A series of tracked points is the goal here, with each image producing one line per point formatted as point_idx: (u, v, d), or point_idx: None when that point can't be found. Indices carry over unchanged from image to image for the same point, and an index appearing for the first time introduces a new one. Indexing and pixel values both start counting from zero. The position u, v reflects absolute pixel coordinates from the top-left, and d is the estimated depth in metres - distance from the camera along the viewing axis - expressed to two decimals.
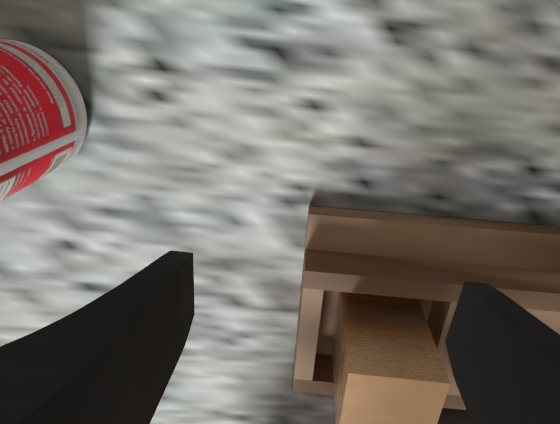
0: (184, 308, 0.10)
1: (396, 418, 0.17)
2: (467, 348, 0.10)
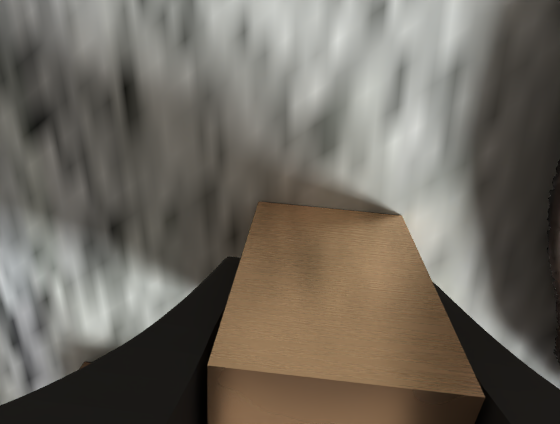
0: None
1: None
2: None
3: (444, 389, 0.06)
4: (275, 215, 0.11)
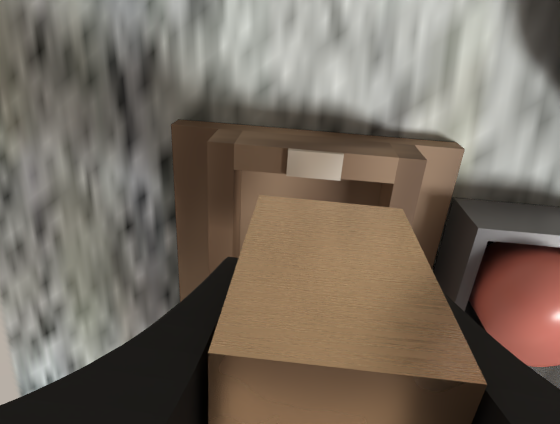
0: None
1: None
2: None
3: (446, 376, 0.06)
4: (275, 208, 0.10)
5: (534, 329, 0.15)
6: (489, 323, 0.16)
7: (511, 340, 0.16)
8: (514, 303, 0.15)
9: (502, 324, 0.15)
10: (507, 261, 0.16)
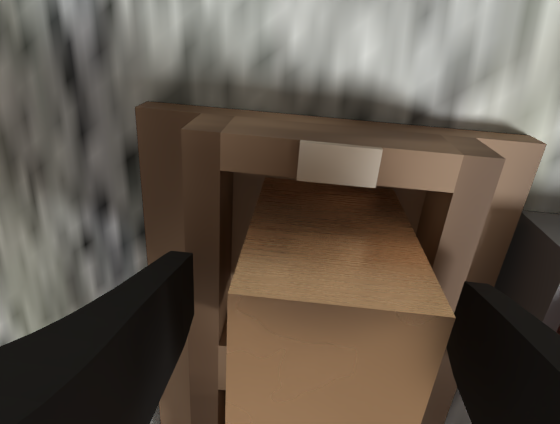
0: (184, 308, 0.10)
1: None
2: (467, 348, 0.10)
3: (422, 312, 0.07)
4: (280, 188, 0.12)
5: None
6: None
7: None
8: None
9: None
10: None
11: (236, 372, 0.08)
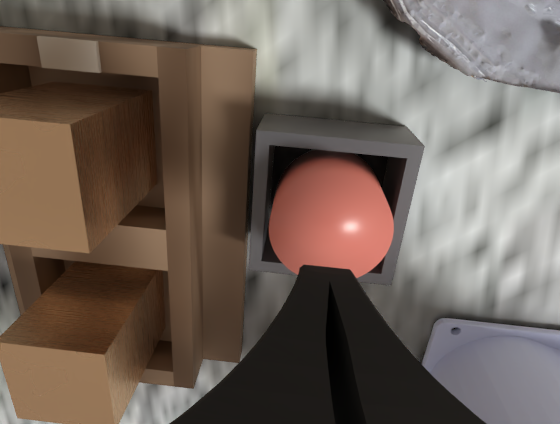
0: None
1: (64, 383, 0.15)
2: None
3: (52, 123, 0.11)
4: (56, 85, 0.15)
5: (314, 239, 0.14)
6: (269, 232, 0.15)
7: (294, 252, 0.15)
8: (287, 208, 0.14)
9: (280, 233, 0.14)
10: (294, 170, 0.15)
11: None
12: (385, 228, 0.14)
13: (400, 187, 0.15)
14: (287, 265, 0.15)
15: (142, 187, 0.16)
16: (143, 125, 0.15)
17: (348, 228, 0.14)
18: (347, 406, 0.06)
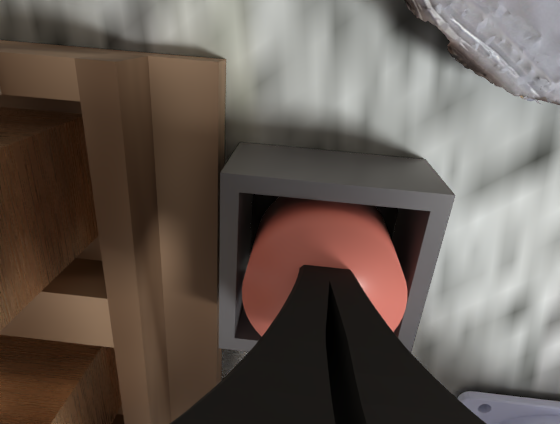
0: None
1: None
2: None
3: None
4: None
5: None
6: (243, 298, 0.11)
7: None
8: (265, 270, 0.10)
9: (257, 300, 0.11)
10: (277, 214, 0.12)
11: None
12: (395, 296, 0.10)
13: (420, 248, 0.11)
14: None
15: (74, 244, 0.12)
16: (72, 162, 0.12)
17: None
18: (347, 406, 0.06)
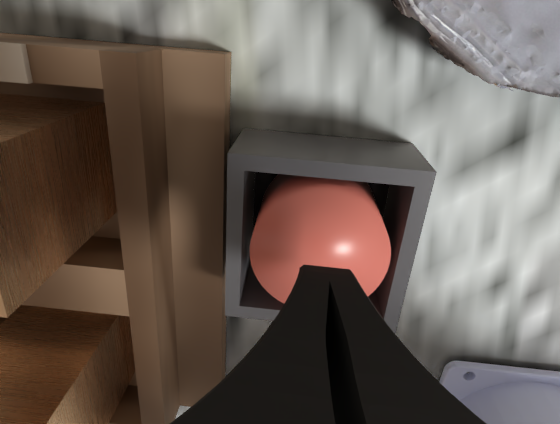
0: None
1: None
2: None
3: None
4: None
5: (301, 264, 0.13)
6: (250, 256, 0.13)
7: (278, 278, 0.13)
8: (269, 230, 0.12)
9: (263, 257, 0.13)
10: (279, 185, 0.13)
11: None
12: (381, 252, 0.12)
13: (406, 221, 0.12)
14: (271, 293, 0.13)
15: (94, 220, 0.13)
16: (93, 145, 0.13)
17: (339, 251, 0.12)
18: (347, 406, 0.06)
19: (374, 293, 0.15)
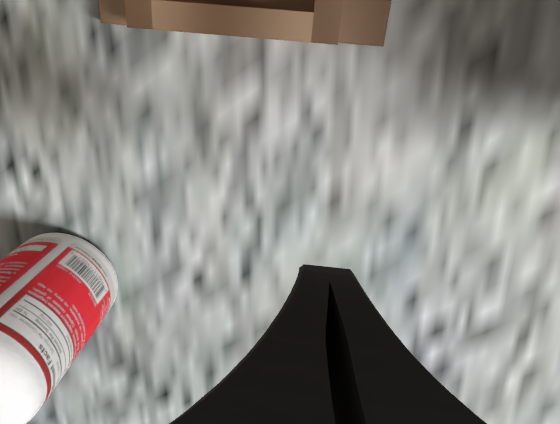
0: None
1: None
2: None
3: None
4: None
5: None
6: None
7: None
8: None
9: None
10: None
11: None
12: None
13: None
14: None
15: None
16: None
17: None
18: (347, 406, 0.06)
19: None
